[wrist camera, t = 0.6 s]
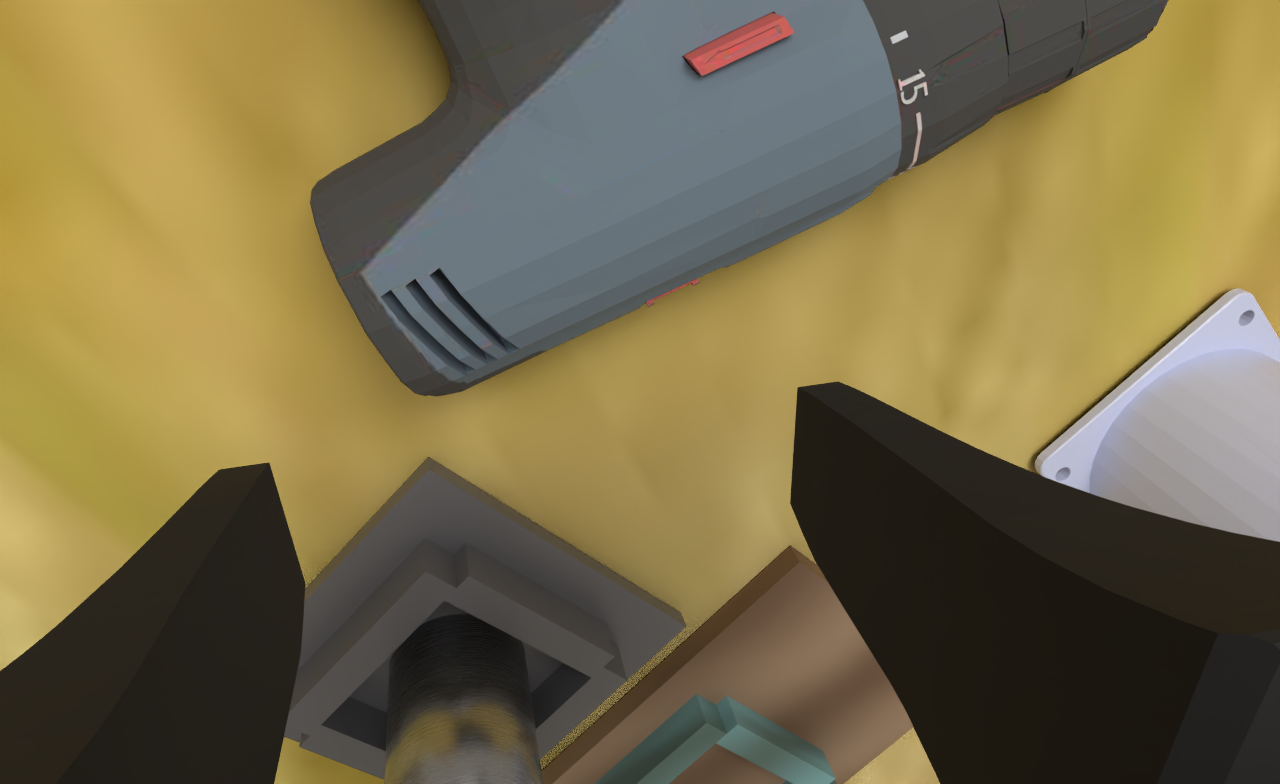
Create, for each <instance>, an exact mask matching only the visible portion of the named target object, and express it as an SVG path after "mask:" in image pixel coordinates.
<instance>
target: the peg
mask: <svg viewBox="0 0 1280 784" xmlns="http://www.w3.org/2000/svg"><path fill="white" fill-rule="evenodd" d="M384 784H543V779H542V772H541V764H540V757H539V750H538V743H537V736H536V728H535V721H534V714H533V707H532V700H531V692H530V685H529V678H528V671H527V664H526V656H525V650H524V646H523V644H522V641H521V640H519V639H517V638H515V637H513V636H511V635H509V634H507V633H505V632H504V631H502V630H500V629H498V628H496V627H494V626H492V625H490V624H488V623H486V622H484V621H483V620H481V619H479V618H477V617H475V616H473V615H471V614H453V615H447V616H442V617H439V618H436V619H432V620H430V621H428V622H425V623H423V624H421V625H420V626H419V627H418V628H417V629H416V630H415V631H414V632H413V633H412V634H411V635H410V636H409V637H408V638H407V639H406V640H405V641H404V642H403V643H402V644H401V645H400V646H399V647H398V648H397V649H396V650H395V651H394V652H393V653H392V656H391V659H390V663H389V683H388V707H387V731H386V755H385V779H384Z"/></svg>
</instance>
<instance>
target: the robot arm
mask: <svg viewBox="0 0 1280 784" xmlns="http://www.w3.org/2000/svg"><path fill="white" fill-rule="evenodd" d="M1035 469H1036V471H1037V472H1038V473H1039V474H1040V475H1038V474H1035V473H1033V472H1030V471H1028V470H1025V469H1023V468H1021V467H1018V466H1016V465H1014V464H1011V463H1009V462H1007V461H1004V460H1002V459H1000V458H997V457H995V456H993V455H991V454H988V453H986V452H984V451H982V450H979V449H977V448H975V447H973V446H971V445H969V444H966V443H964V442H962V441H960V440H958V439H956V438H954V437H952V436H950V435H948V434H945V433H943V432H941V431H939V430H937V429H935V428H933V427H931V426H929V425H927V424H925V423H923V422H921V421H919V420H917V419H915V418H913V417H911V416H909V415H907V414H905V413H903V412H901V411H900V410H898V409H896V408H894V407H892V406H890V405H888V404H886V403H884V402H882V401H880V400H878V399H876V398H874V397H872V396H870V395H867V394H865V393H863V392H861V391H859V390H857V389H855V388H852V387H850V386H848V385H845V384H843V383H840V382H832V383H825V384H818V385H811V386H804V387H798V390H797V406H796V422H795V437H794V453H793V469H792V485H791V501H790V504H791V506H792V508H793V511H794V513H795V516H796V518H797V521H798V523H799V525H800V528H801V530H802V533H803V535H804V537H805V539H806V542H807V544H808V546H809V548H810V551H811V553H812V555H813V557H814V559H815V561H816V563H817V565H818V566H819V568H820V570H821V571H822V573H823V575H824V576H825V578H826V580H827V581H828V583H829V585H830V586H831V588H832V590H833V591H834V593H835V595H836V596H837V598H838V600H839V601H840V603H841V604H842V606H843V608H844V609H845V611H846V613H847V614H848V616H849V617H850V619H851V621H852V622H853V624H854V625H855V627H856V629H857V630H858V632H859V633H860V635H861V637H862V638H863V640H864V642H865V643H866V645H867V646H868V648H869V650H870V651H871V653H872V654H873V656H874V658H875V659H876V661H877V662H878V664H879V666H880V667H881V669H882V671H883V672H884V674H885V675H886V677H887V679H888V680H889V682H890V684H891V685H892V687H893V689H894V691H895V692H896V694H897V696H898V698H899V700H900V701H901V703H902V705H903V707H904V709H905V710H906V712H907V714H908V717H909V719H910V721H911V723H912V725H913V727H914V729H915V731H916V733H917V735H918V737H919V739H920V742H921V744H922V746H923V748H924V750H925V752H926V754H927V756H928V758H929V760H930V762H931V764H932V767H933V769H934V771H935V773H936V775H937V777H938V779H939V782H940V784H1280V339H1279V337H1278V336H1277V334H1276V332H1275V331H1274V329H1273V327H1272V326H1271V324H1270V322H1269V321H1268V319H1267V318H1266V316H1265V314H1264V313H1263V311H1262V309H1261V308H1260V306H1259V304H1258V303H1257V301H1256V299H1255V298H1254V296H1253V295H1252V294H1251V293H1249V292H1247V291H1245V290H1243V289H1233V290H1230V291H1229V292H1227V293H1226V294H1224V295H1223V296H1222V297H1221V298H1220V299H1219V300H1217V301H1216V302H1215V303H1214V304H1213V305H1212V306H1210V307H1209V308H1208V309H1207V310H1206V311H1205V312H1203V313H1202V314H1201V315H1200V316H1199V317H1198V318H1197V319H1195V320H1194V321H1193V322H1192V323H1191V324H1190V325H1188V326H1187V327H1186V328H1185V329H1184V330H1183V331H1181V332H1180V333H1179V334H1178V335H1177V336H1176V337H1175V338H1173V339H1172V340H1171V341H1170V342H1169V343H1168V344H1166V345H1165V346H1164V347H1163V348H1162V349H1161V350H1159V351H1158V352H1157V353H1156V354H1155V355H1154V356H1153V357H1151V358H1150V359H1149V360H1148V361H1147V362H1146V363H1144V364H1143V365H1142V366H1141V367H1140V368H1139V369H1137V370H1136V371H1135V372H1134V373H1133V374H1132V375H1130V376H1129V377H1128V378H1127V379H1126V380H1125V381H1124V382H1122V383H1121V384H1120V385H1119V386H1118V387H1117V388H1115V389H1114V390H1113V391H1112V392H1111V393H1110V394H1108V395H1107V396H1106V397H1105V398H1104V399H1103V400H1102V401H1100V402H1099V403H1098V404H1097V405H1096V406H1095V407H1093V408H1092V409H1091V410H1090V411H1089V412H1088V413H1086V414H1085V415H1084V416H1083V417H1082V418H1081V419H1080V420H1078V421H1077V422H1076V423H1075V424H1074V425H1073V426H1071V427H1070V428H1069V429H1068V430H1067V431H1066V432H1064V433H1063V434H1062V435H1061V436H1060V437H1059V438H1058V439H1056V440H1055V441H1054V442H1053V443H1052V444H1051V445H1049V446H1048V447H1047V448H1046V449H1045V450H1044V451H1042V452H1041V453H1040V455H1039V456H1038V457H1037V459H1036V461H1035ZM1060 469H1061V470H1060ZM1059 470H1060V471H1059ZM1058 471H1059V472H1058ZM304 598H305V581H304V578H303V574H302V571H301V568H300V564H299V561H298V558H297V554H296V551H295V548H294V544H293V541H292V538H291V534H290V531H289V528H288V524H287V521H286V517H285V514H284V511H283V507H282V504H281V501H280V497H279V494H278V491H277V487H276V484H275V481H274V477H273V474H272V471H271V467H270V464H269V463H263V464H256V465H249V466H242V467H235V468H228V469H221V470H219V471H217V472H216V473H215V474H214V475H213V476H212V477H211V478H210V479H209V480H208V481H207V482H206V483H205V484H203V485H202V486H201V487H200V488H199V489H198V490H197V491H196V493H195V494H194V495H193V496H192V497H191V498H190V499H189V500H188V501H187V502H186V503H185V504H184V505H183V506H182V507H181V508H180V509H179V510H178V511H177V512H176V513H175V514H174V515H173V516H172V517H171V518H170V519H169V520H168V521H167V522H166V523H165V524H164V525H163V526H162V527H161V528H160V529H159V530H158V531H157V532H156V533H155V534H154V535H153V536H152V537H151V538H150V539H149V540H148V541H147V542H146V543H145V544H144V545H143V546H142V547H141V548H140V549H139V550H138V551H137V552H136V553H135V554H134V555H133V556H132V557H131V558H130V559H129V560H128V561H127V562H126V563H125V564H124V565H123V566H122V567H121V568H120V569H119V570H118V571H117V572H116V573H114V574H113V575H112V576H111V577H110V578H109V579H108V580H107V581H106V582H105V583H103V584H102V585H101V586H100V587H99V588H98V589H97V590H96V591H95V592H94V593H92V594H91V595H90V596H89V597H88V598H87V599H86V600H85V601H84V602H83V603H81V604H80V605H79V606H78V607H77V608H76V609H75V610H74V611H73V612H72V613H70V614H69V615H68V616H67V617H66V618H65V619H64V620H63V621H62V622H61V623H59V624H58V625H57V626H56V627H55V628H54V629H52V630H51V631H50V632H49V633H48V634H46V635H45V636H44V637H43V638H42V639H40V640H39V641H38V642H37V643H36V644H34V645H33V646H32V647H31V648H29V649H28V650H27V651H26V652H24V653H23V654H22V655H21V656H20V657H18V658H17V659H16V660H14V661H13V662H12V663H10V664H9V665H8V666H6V667H5V668H4V669H3V670H1V671H0V784H274V781H275V776H276V771H277V766H278V762H279V757H280V752H281V747H282V743H283V738H284V733H285V728H286V724H287V719H288V714H289V709H290V705H291V700H292V695H293V690H294V685H295V680H296V675H297V670H298V665H299V660H300V654H301V645H302V632H303V618H304Z"/></svg>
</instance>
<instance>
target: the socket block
mask: <svg viewBox="0 0 1280 784" xmlns="http://www.w3.org/2000/svg"><path fill="white" fill-rule="evenodd" d="M453 614H471V615H473V616H475V617H477V618H479V619H481V620H483V621H484V622H486V623H488V624H490V625H492V626H494V627H496V628H498V629H500V630H502V631H504V632H505V633H507V634H509V635H511V636H513V637H515V638H517V639H519V640H521V641H522V644H523V646H524V650H525V656H526V664H527V671H528V678H529V685H530V692H531V700H532V707H533V714H534V721H535V728H536V736H537V743H538V750H539V757H540V759H541V758H542V757H543V756H544V755H546V754H547V753H548V752H549V751H550V750H551V749H552V748H553V747H554V746H555V745H557V744H558V743H559V742H560V741H561V740H562V739H563V738H564V737H565V736H566V735H568V734H569V733H570V732H571V731H572V730H573V729H574V728H575V727H576V726H577V725H578V724H580V723H581V722H582V721H583V720H584V719H585V718H586V717H587V716H588V715H589V714H591V713H592V712H593V711H594V710H595V709H596V708H597V707H598V706H599V705H600V704H602V703H603V702H604V701H605V700H606V699H607V698H608V697H609V696H610V695H611V694H613V693H614V692H615V691H616V690H617V689H618V688H619V687H620V686H621V685H622V684H623V683H625V682H626V681H627V680H628V679H629V678H630V677H631V676H632V675H633V674H634V673H636V672H637V671H638V670H639V669H640V668H641V667H642V666H643V665H644V664H645V663H646V662H648V661H649V660H650V659H651V658H652V657H653V656H654V655H655V654H656V653H657V652H659V651H660V650H661V649H662V648H663V647H664V646H665V645H666V644H667V643H668V642H670V641H671V640H672V639H673V638H674V637H675V636H676V635H677V634H678V633H679V632H681V631H682V630H683V629H684V628H685V627H686V625H685V622H684V619H683V617H682V614H681V613H680V612H679V611H677V610H675V609H674V608H672V607H670V606H669V605H667V604H666V603H664V602H662V601H661V600H659V599H657V598H656V597H654V596H653V595H651V594H649V593H648V592H646V591H645V590H643V589H641V588H640V587H638V586H636V585H635V584H633V583H632V582H630V581H628V580H627V579H625V578H623V577H622V576H620V575H619V574H617V573H615V572H614V571H612V570H611V569H609V568H607V567H606V566H604V565H602V564H601V563H599V562H598V561H596V560H594V559H593V558H591V557H589V556H588V555H586V554H585V553H583V552H581V551H580V550H578V549H577V548H575V547H573V546H572V545H570V544H568V543H567V542H565V541H564V540H562V539H560V538H559V537H557V536H555V535H554V534H552V533H551V532H549V531H547V530H546V529H544V528H542V527H541V526H539V525H538V524H536V523H534V522H533V521H531V520H530V519H528V518H526V517H525V516H523V515H521V514H520V513H518V512H517V511H515V510H513V509H512V508H510V507H508V506H507V505H505V504H504V503H502V502H500V501H499V500H497V499H496V498H494V497H492V496H491V495H489V494H487V493H486V492H484V491H483V490H481V489H479V488H478V487H476V486H474V485H473V484H471V483H470V482H468V481H466V480H465V479H463V478H462V477H460V476H458V475H457V474H455V473H453V472H452V471H450V470H449V469H447V468H445V467H444V466H442V465H440V464H439V463H437V462H436V461H434V460H432V459H431V458H429V457H428V458H427V459H426V460H425V461H424V462H423V463H422V465H421V466H420V467H419V468H418V469H417V470H416V471H415V472H414V473H413V474H412V475H411V476H410V477H409V478H408V480H407V481H406V482H405V483H404V484H403V485H402V486H401V487H400V488H399V489H398V490H397V491H396V492H395V493H394V495H393V496H392V497H391V498H390V499H389V500H388V501H387V502H386V503H385V504H384V505H383V506H382V507H381V508H380V510H379V511H378V512H377V513H376V514H375V515H374V516H373V517H372V518H371V519H370V520H369V521H368V522H367V523H366V525H365V526H364V527H363V528H362V529H361V530H360V531H359V532H358V533H357V534H356V535H355V536H354V537H353V538H352V540H351V541H350V542H349V543H348V544H347V545H346V546H345V547H344V548H343V549H342V550H341V551H340V552H339V553H338V555H337V556H336V557H335V558H334V559H333V560H332V561H331V562H330V563H329V564H328V565H327V566H326V567H325V568H324V570H323V571H322V572H321V573H320V574H319V575H318V576H317V577H316V578H315V579H314V580H313V581H312V582H311V583H310V585H309V586H308V587H307V588H306V589H305V598H304V618H303V632H302V645H301V654H300V660H299V665H298V670H297V675H296V680H295V685H294V690H293V695H292V700H291V705H290V709H289V714H288V719H287V724H286V728H285V733H284V737H287V738H289V739H292V740H295V741H297V742H300V746H299V747H301V748H304V749H306V750H309V751H312V752H314V753H317V754H319V755H322V756H325V757H327V758H330V759H332V760H335V761H337V762H340V763H343V764H345V765H348V766H350V767H353V768H356V769H358V770H361V771H363V772H366V773H368V774H371V775H374V776H376V777H379V778H381V779H385V755H386V731H387V707H388V683H389V663H390V659H391V656H392V653H393V652H394V651H395V650H396V649H397V648H398V647H399V646H400V645H401V644H402V643H403V642H404V641H405V640H406V639H407V638H408V637H409V636H410V635H411V634H412V633H413V632H414V631H415V630H416V629H417V628H418V627H419V626H420V625H421V624H423V623H425V622H428V621H430V620H432V619H436V618H439V617H442V616H447V615H453Z"/></svg>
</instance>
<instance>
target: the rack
mask: <svg viewBox="0 0 1280 784" xmlns="http://www.w3.org/2000/svg"><path fill="white" fill-rule="evenodd" d="M911 728H913V725H912V723H911V721H910V719H909V717H908V714H907V712H906V710H905V709H904V707H903V705H902V703H901V701H900V700H899V698H898V696H897V694H896V692H895V691H894V689H893V687H892V685H891V684H890V682H889V680H888V679H887V677H886V675H885V674H884V672H883V671H882V669H881V667H880V666H879V664H878V662H877V661H876V659H875V658H874V656H873V654H872V653H871V651H870V650H869V648H868V646H867V645H866V643H865V642H864V640H863V638H862V637H861V635H860V633H859V632H858V630H857V629H856V627H855V625H854V624H853V622H852V621H851V619H850V617H849V616H848V614H847V613H846V611H845V609H844V608H843V606H842V604H841V603H840V601H839V600H838V598H837V596H836V595H835V593H834V591H833V590H832V588H831V586H830V585H829V583H828V581H827V580H826V578H825V576H824V575H823V573H822V571H821V570H820V568H819V566H817V565H816V564H815V563H813V562H812V561H811V560H809V559H808V558H807V557H805V556H804V555H803V554H801V553H800V552H798V551H797V550H796V549H794V548H793V547H792V546H789V547H788V548H787V549H786V550H785V551H784V552H783V553H782V554H781V555H779V556H778V557H777V558H776V559H775V560H774V561H773V562H772V563H771V564H770V565H768V566H767V567H766V568H765V569H764V570H763V571H762V572H761V573H760V574H759V575H757V576H756V577H755V578H754V579H753V580H752V581H751V582H750V583H749V584H747V585H746V586H745V587H744V588H743V589H742V590H741V591H740V592H739V593H738V594H736V595H735V596H734V597H733V598H732V599H731V600H730V601H729V602H728V603H727V604H725V605H724V606H723V607H722V608H721V609H720V610H719V611H718V612H717V613H715V614H714V615H713V616H712V617H711V618H710V619H709V620H708V621H707V622H706V623H704V624H703V625H702V626H701V627H700V628H699V629H698V630H697V631H696V632H695V633H693V634H692V635H691V636H690V637H689V638H688V639H687V640H686V641H685V642H683V643H682V644H681V645H680V646H679V647H678V648H677V649H676V650H675V651H674V652H672V653H671V654H670V655H669V656H668V657H667V658H666V659H665V660H664V661H663V662H661V663H660V664H659V665H658V666H657V667H656V668H655V669H654V670H653V671H651V672H650V673H649V674H648V675H647V676H646V677H645V678H644V679H643V680H642V681H640V682H639V683H638V684H637V685H636V686H635V687H634V688H633V689H632V690H631V691H629V692H628V693H627V694H626V695H625V696H624V697H623V698H622V699H621V700H619V701H618V702H617V703H616V704H615V705H614V706H613V707H612V708H611V709H610V710H608V711H607V712H606V713H605V714H604V715H603V716H602V717H601V718H600V719H599V720H597V721H596V722H595V723H594V724H593V725H592V726H591V727H590V728H589V729H587V730H586V731H585V732H584V733H583V734H582V735H581V736H580V737H579V738H578V739H576V740H575V741H574V742H573V743H572V744H571V745H570V746H569V747H568V748H566V749H565V750H564V751H563V752H562V753H561V754H560V755H559V756H558V757H557V758H555V759H554V760H553V761H552V762H551V763H550V764H549V765H548V766H547V767H546V768H544V769H543V770H542V771H541V772H542V779H543V784H843V783H845V782H846V781H847V780H848V779H850V778H851V777H852V776H853V775H855V774H856V773H857V772H858V771H859V770H861V769H862V768H863V767H864V766H866V765H867V764H868V763H869V762H871V761H872V760H873V759H874V758H876V757H877V756H878V755H879V754H880V753H882V752H883V751H884V750H885V749H887V748H888V747H889V746H890V745H892V744H893V743H894V742H895V741H897V740H898V739H899V738H900V737H902V736H903V735H904V734H905V733H906V732H908V731H909V730H910V729H911Z"/></svg>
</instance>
